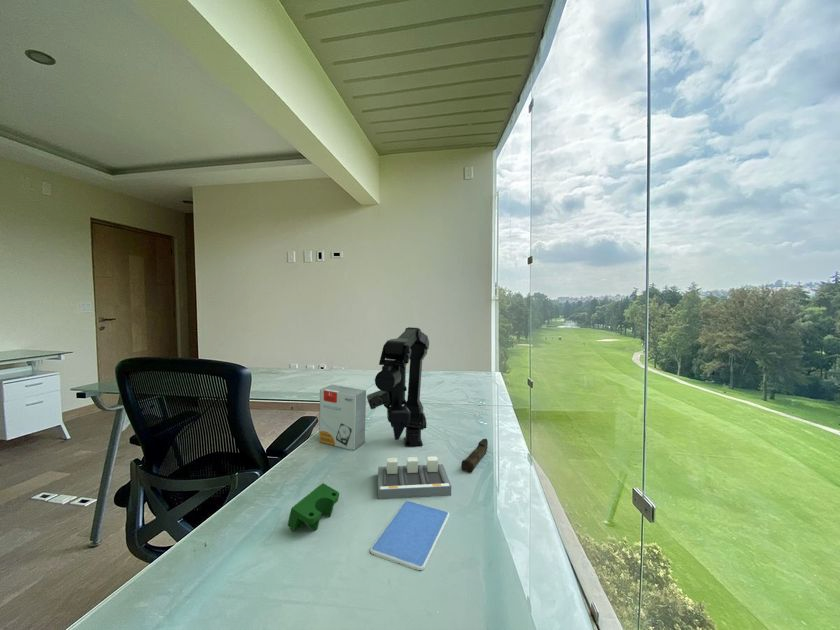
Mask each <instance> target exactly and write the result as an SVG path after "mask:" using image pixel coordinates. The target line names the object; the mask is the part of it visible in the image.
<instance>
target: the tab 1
mask: <svg viewBox="0 0 840 630" xmlns="http://www.w3.org/2000/svg"><path fill="white" fill-rule="evenodd" d="M386 466H387V474H397V466H399V465H398V457H387V458H386Z"/></svg>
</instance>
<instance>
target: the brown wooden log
mask: <svg viewBox="0 0 840 630" xmlns="http://www.w3.org/2000/svg"><path fill="white" fill-rule="evenodd" d="M488 442H489V441H488V439H487V438H483V439H481V440H480V441H478V443H477V444H478V445H477V446H476V447H475V449H474V450H473V451H472V452H471V453H470V454H469V455H468V456H467V457H466V458H464V459H463V460H462V461H461V465H460V466H461V470H462V471H463V472H466V471H467V472H466V473H473V471H474V470H475V467H476V465H477V464H478V463H479V462H480V461H481V459H482V458H483V457H484V456H483V455H485V454H486V455H487V453H486V452H488V447H489V446H488V445H489V443H488ZM486 455H485V456H486Z"/></svg>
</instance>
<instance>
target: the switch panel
mask: <svg viewBox="0 0 840 630" xmlns="http://www.w3.org/2000/svg"><path fill="white" fill-rule="evenodd" d="M377 467H378V468H377V481H378V482H377V485H378V486H377V495H378V496H377V499H378V500H383V499H384V500H385V499H404V498H422V497H438V496H439V497H440V496H441V497H442V496H451V495H452V484H451V482H450V479H449V477H448V474H447V471H446V469H445V466H444V464H443V463H438V472H428V471H427V464H418V473H407V465H397V474H387V465H386V466H377Z"/></svg>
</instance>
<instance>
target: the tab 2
mask: <svg viewBox="0 0 840 630" xmlns="http://www.w3.org/2000/svg"><path fill="white" fill-rule="evenodd" d="M418 465H419V460H418V457H417V456H411V457H410V456H409V457H406V466H407V473H418Z"/></svg>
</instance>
